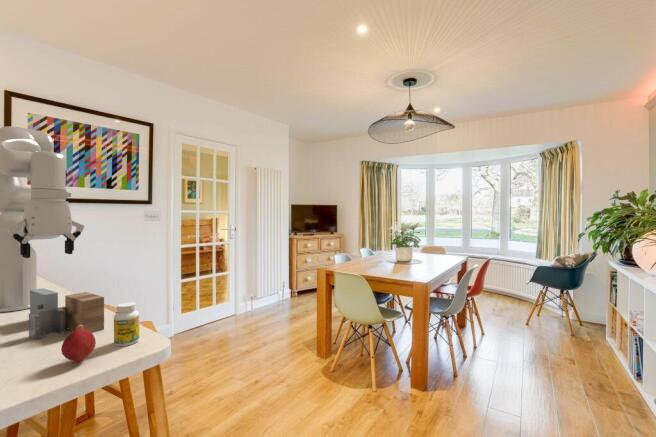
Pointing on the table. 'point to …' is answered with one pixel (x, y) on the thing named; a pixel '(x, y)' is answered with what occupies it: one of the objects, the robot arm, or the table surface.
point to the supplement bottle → (126, 324)
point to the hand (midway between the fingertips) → (48, 255)
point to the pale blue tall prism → (43, 300)
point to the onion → (78, 344)
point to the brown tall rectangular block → (85, 311)
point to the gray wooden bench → (47, 322)
